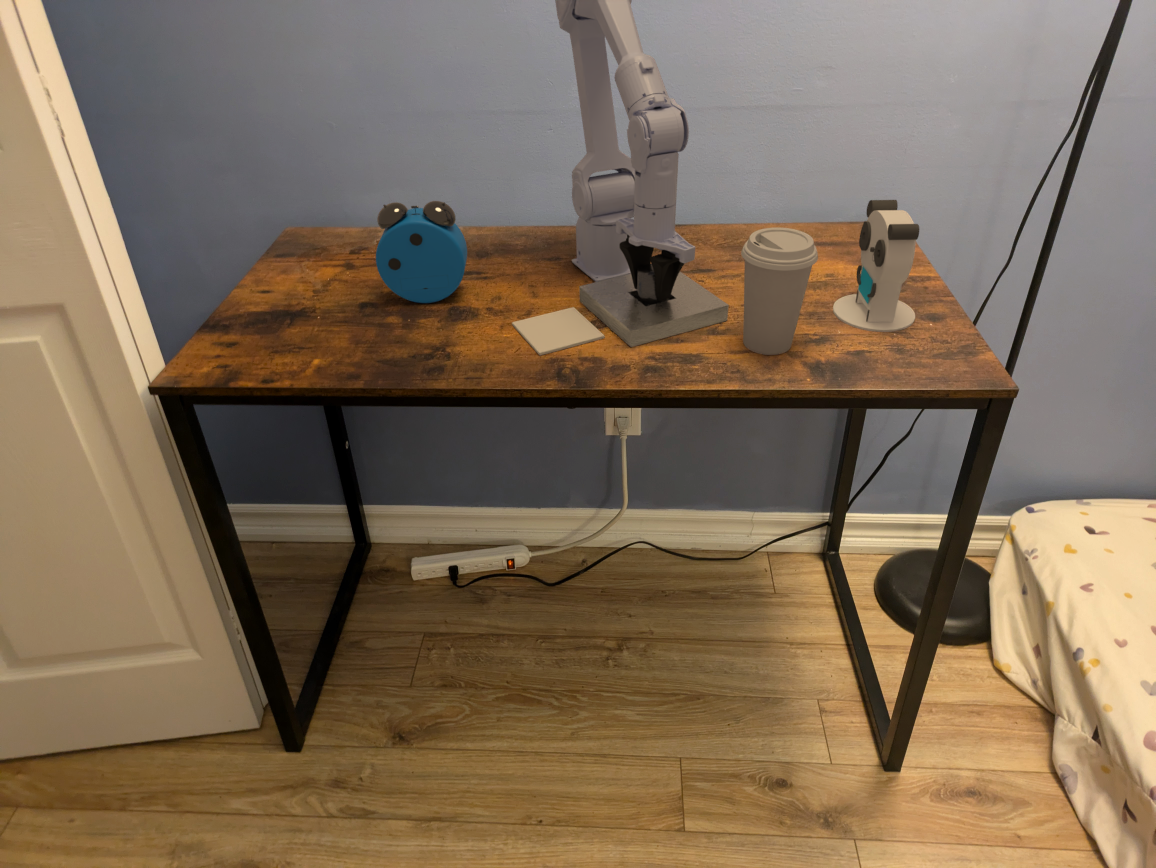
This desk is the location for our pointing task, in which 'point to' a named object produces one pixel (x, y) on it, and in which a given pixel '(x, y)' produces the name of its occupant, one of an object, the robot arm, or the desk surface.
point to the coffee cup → (775, 287)
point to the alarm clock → (420, 251)
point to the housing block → (652, 309)
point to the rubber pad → (557, 331)
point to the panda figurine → (881, 271)
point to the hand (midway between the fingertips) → (652, 292)
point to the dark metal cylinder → (646, 285)
